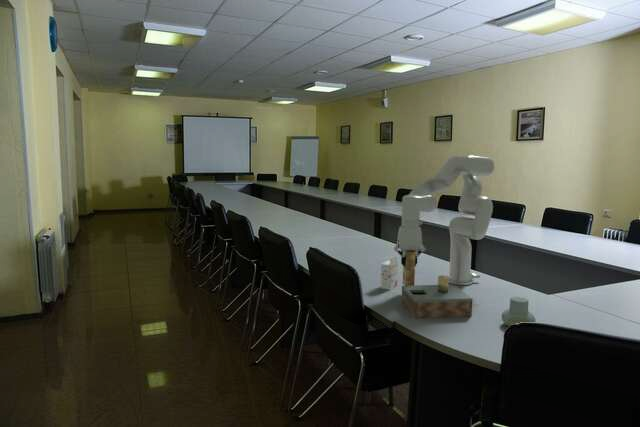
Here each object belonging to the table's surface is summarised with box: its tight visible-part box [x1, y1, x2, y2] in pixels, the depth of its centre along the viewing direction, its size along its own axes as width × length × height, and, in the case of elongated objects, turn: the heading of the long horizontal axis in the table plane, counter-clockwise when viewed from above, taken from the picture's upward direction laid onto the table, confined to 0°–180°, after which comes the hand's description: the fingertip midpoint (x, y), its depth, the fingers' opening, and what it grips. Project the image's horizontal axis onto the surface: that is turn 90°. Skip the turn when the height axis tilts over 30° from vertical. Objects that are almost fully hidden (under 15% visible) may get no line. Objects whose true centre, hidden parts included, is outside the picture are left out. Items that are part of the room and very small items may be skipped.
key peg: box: [402, 250, 416, 286], centre depth 187 cm, size 4×4×15 cm
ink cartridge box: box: [380, 255, 399, 291], centre depth 198 cm, size 9×5×15 cm, turn 148°
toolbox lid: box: [401, 275, 473, 303], centre depth 169 cm, size 22×18×7 cm
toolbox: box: [401, 288, 473, 319], centre depth 170 cm, size 22×18×6 cm
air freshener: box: [501, 296, 536, 327], centre depth 152 cm, size 11×8×10 cm
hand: (409, 265), depth 186 cm, fingers closed on key peg, 4 cm apart
